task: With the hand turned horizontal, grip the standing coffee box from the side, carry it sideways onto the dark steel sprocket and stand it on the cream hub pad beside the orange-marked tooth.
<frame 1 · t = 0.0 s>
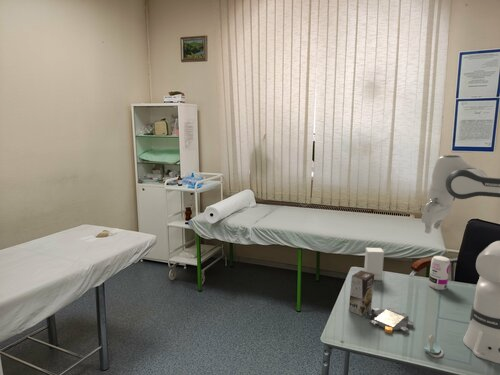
hand: (432, 230, 146), 39 cm above the table, tool pointing down, fingers open, 8 cm apart
skincare box: (372, 278, 195), on the table
coffee box: (359, 310, 162), on the table
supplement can: (437, 287, 187), on the table
sprocket plate: (389, 321, 153), on the table
pacifier: (433, 353, 133), on the table
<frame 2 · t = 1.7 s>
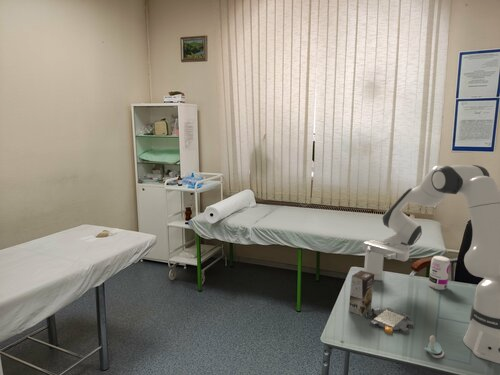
hand: (377, 254, 166), 22 cm above the table, tool horizontal, fingers open, 8 cm apart
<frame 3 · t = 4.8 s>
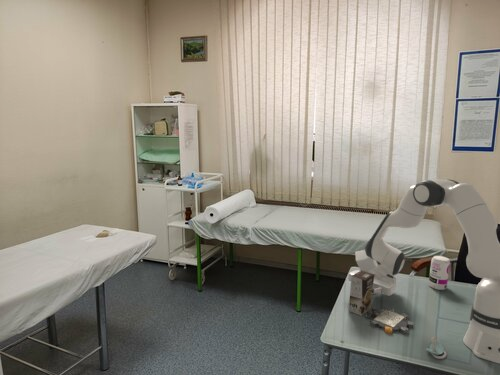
hand: (362, 287, 162), 9 cm above the table, tool horizontal, fingers open, 8 cm apart
skincare box: (372, 274, 194), point 2 cm above the table, touching arm
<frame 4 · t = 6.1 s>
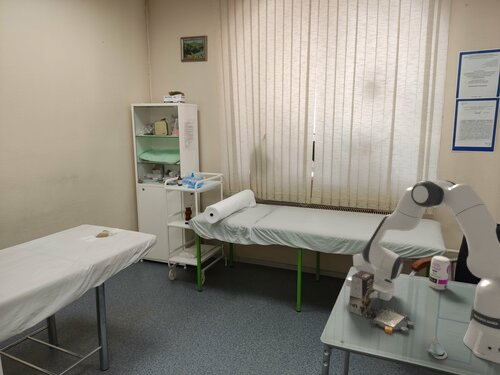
hand: (360, 292, 159), 8 cm above the table, tool horizontal, fingers closed on coffee box, 6 cm apart
coffee box: (359, 310, 162), on the table, touching gripper
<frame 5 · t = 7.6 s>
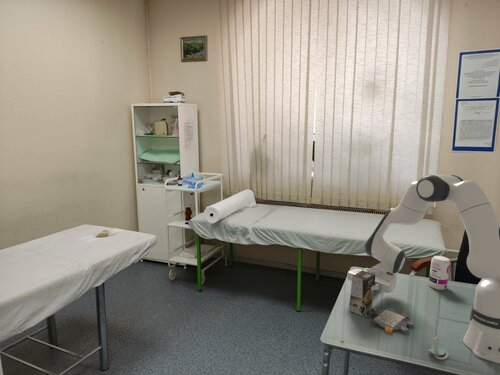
hand: (361, 285, 159), 12 cm above the table, tool horizontal, fingers closed on coffee box, 6 cm apart
skincare box: (373, 275, 190), point 3 cm above the table
coffee box: (360, 310, 162), on the table, touching gripper
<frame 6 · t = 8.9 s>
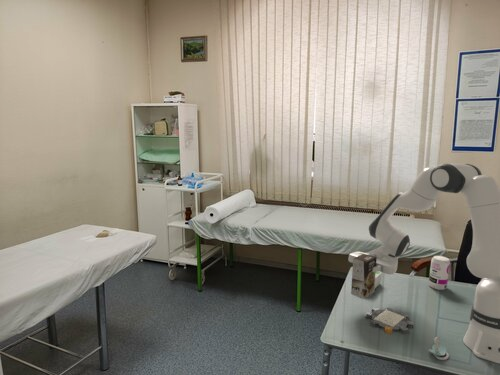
hand: (363, 267, 157), 20 cm above the table, tool horizontal, fingers closed on coffee box, 6 cm apart
coffee box: (362, 293, 160), point 8 cm above the table, touching gripper
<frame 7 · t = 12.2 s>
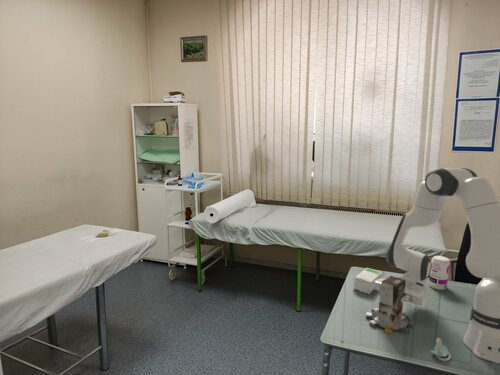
hand: (390, 296, 150), 11 cm above the table, tool horizontal, fingers closed on coffee box, 6 cm apart
coffee box: (389, 318, 153), point 1 cm above the table, touching gripper, sprocket plate
when the fingers open (11 cm above the table, at t = 12.7 s): coffee box stays where it is, resting on sprocket plate.
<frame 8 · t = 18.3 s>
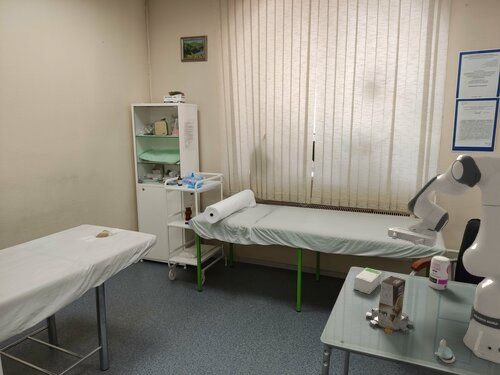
hand: (404, 240, 162), 30 cm above the table, tool horizontal, fingers open, 8 cm apart
coffee box: (389, 318, 153), point 1 cm above the table, touching sprocket plate
pacifier: (445, 358, 131), on the table
everything else where it was.
at the end: coffee box inside the target area on the sprocket plate (0.2 cm from its centre), point 1.5 cm above the sprocket plate's base; coffee box tilted 0°; the gripper is holding nothing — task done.
